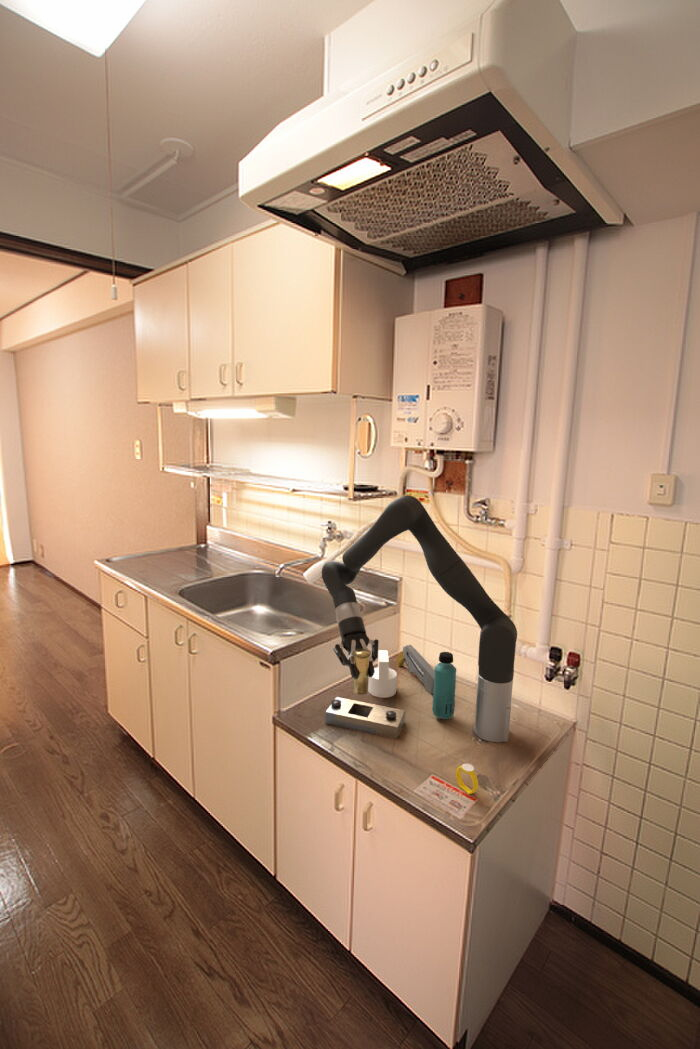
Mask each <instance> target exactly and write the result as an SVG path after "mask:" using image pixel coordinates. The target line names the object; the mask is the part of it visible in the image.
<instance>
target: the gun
mask: <svg viewBox="0 0 700 1049" xmlns="http://www.w3.org/2000/svg"><path fill="white" fill-rule="evenodd" d="M396 664H397V667H398V668H399V667H403V666H404V665H405V666H406V669H407V670H408V671H409V673H410V674H415V675H416V676H417V678H418V680H420V681H421V683H423V684H424V688H425V689H426V691H427V693H428V694H429V695H433V690H434V676H435V668H433V667H432V666H431V665H430V664H429V662H428V661H427V660H426V659H425V658H424V657H423V656H422V655H421V653H420V652H419V651H417V649H416V648H415V647H414V646H413V644H408V645H405V646H403V647H402V651H400V652H399V653H398V655H397V658H396Z"/></svg>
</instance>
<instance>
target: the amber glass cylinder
mask: <svg viewBox="0 0 700 1049" xmlns="http://www.w3.org/2000/svg"><path fill="white" fill-rule="evenodd" d="M371 654H372V650H370V649H369V648H368V649H364V648H359V649H356V650H354V655H355V663H354V664H356V668H357V672H358V676H359V677H358V679H354V678H353V693H354V694H356V695H359V696H360V695H366V694H368V693H369V691H368V687H369V656H370V655H371Z"/></svg>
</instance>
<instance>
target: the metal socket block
mask: <svg viewBox="0 0 700 1049" xmlns="http://www.w3.org/2000/svg"><path fill="white" fill-rule="evenodd" d="M405 717H406V710H403V709H399V708H394V707H388V706H383V705H379V704H373V703H369V702H363V701H359V700H354V699H349V698H343V697H341V696H340V697H339V696H336V697H335V698H334V699H332V700H331V704H330V705H329V707H328V708H327V709H326V711H325V720H324V721H325V724H327V725H331V726H335V727H341V728H343V729H348V730H353V731H358V732H362V733H367V734H371V735H377V736H381V737H386V738H390V739H394V740H398V738H399V735H400V733H401V731H402V729H403V727H404V724H405V721H406V720H405V719H406V718H405Z"/></svg>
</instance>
